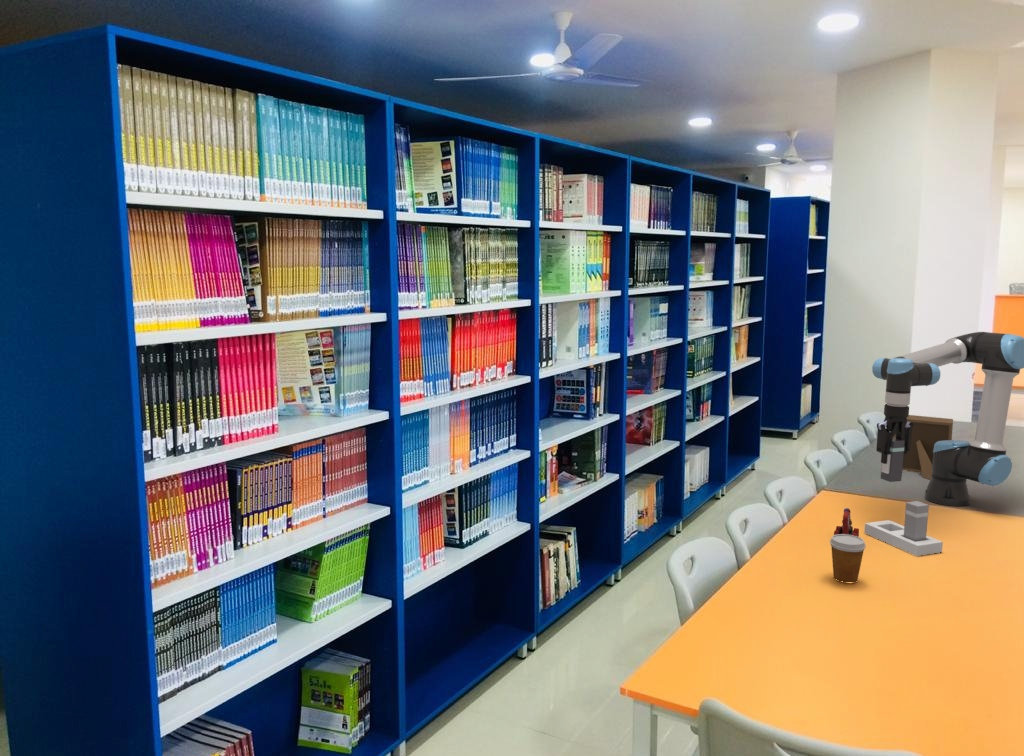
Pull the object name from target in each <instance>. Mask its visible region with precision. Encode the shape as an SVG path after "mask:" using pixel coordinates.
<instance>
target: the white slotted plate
mask: <svg viewBox="0 0 1024 756" xmlns="http://www.w3.org/2000/svg"><path fill="white" fill-rule="evenodd" d="M863 531H864V533H863V534H865V533H866V534H865V535H867V534H868V535H867V536H869V535H870V536H869V537H872V538H874V537H875V538H874V539H877V540H878V539H879V540H878V541H881V542H883V541H884V542H883V543H885V542H886V543H885V544H887V543H888V544H887V545H889V544H890V546H892V547H894V546H895V548H896V547H898V548H900V549H899V550H901V549H902V550H901V551H903V550H904V551H903V552H905V551H906V553H907V552H909V553H908V554H910V553H911V554H910V555H912V554H913V555H912V556H914V555H915V556H914V557H916V556H917V557H922V556H921V555H924V556H928V555H927V554H930V555H935V554H934V553H937V554H941V553H940V552H942V553H943V544H944V543H943V541H942V540H939V539H936V538H934V537H931V536H929V535H926V540H923V541H917V542H914V541H912V540H910V539H907V538H905V537H904V525H901V524H900V523H898V522H895V521H892V520H890V519H887V520H879V521H871V522H865V523H864V530H863ZM898 548H897V549H898Z"/></svg>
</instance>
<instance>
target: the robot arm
mask: <svg viewBox="0 0 1024 756" xmlns="http://www.w3.org/2000/svg"><path fill="white" fill-rule="evenodd" d="M961 363H974V364H978V365H979V364H980V365H981V371H982V372H983V373H984V375H985V377H984V382H983V387H982V393H981V398H980V399H981V400H980V406H979V411H978V412H979V413H978V418H977V423H976V424H977V425H976V430H975V431H976V432H975V437H974V440H973V441H971V442H969V441H967V440H960V439H959V440H958V439H957V440H955V439H952V440H943V441H938V442H936V443H935V445H934V450H933V461H932V476H931V480H930V479H929V482H928V485H927V487H926V489H925V491H924V499H925V500H926V499H927V500H926V501H928V500H929V502H931V503H933V502H934V504H937V503H938V505H943V506H949V505H950V507H951V506H952V507H965V506H969V505H970V504H971V495H970V494H969V489H968V485H967V480H969V481H974V482H976V483H978V484H979V483H980V484H981V485H987V486H994V487H995V486H999V485H1001V484H1003V483H1004V482H1005V481H1006V480H1007V479H1008V477H1009V476H1010V474H1011V472H1012V468H1013V462H1012V460H1011V457H1010V456H1008V455H1007V448H1006V447H1005V446H1004V444H1003V442H1004V435H1005V430H1006V424H1007V419H1008V412H1009V407H1010V401H1011V396H1012V395H1011V393H1012V387H1013V385H1014V384H1013V382H1014V378H1015V377H1017V376H1018V375H1020V373H1021V372H1020V371H1021V369H1024V336H1021V335H1017V334H1013V333H1000V332H998V333H997V332H988V331H977V332H971V333H966V334H962V335H958V336H955V337H951V338H948V339H947V340H945V341H944V343H941V344H938V345H937V344H936V345H933V346H931V347H930V346H929V347H928V348H924V349H920V350H917V351H913V352H909V353H907V354H906V353H905V354H903V355H900V356H896V357H892V358H887V357H880V358H877V359H876V360H874V362H873V364H872V367H871V368H872V371H871V372H872V374H873V376H874V377H875V378H877V379H879V380H883V381H885V382H886V385H885V395H884V402H885V405H884V408H883V414H884V420H883V422H881V423H879V422H878V423H877V424H876V428H877V435H876V452H877V453H880V454H881V456H880V463H881V467H882V470H881V469H880V473H881V472H884V473H886V474H889V469H890V457H891V455H890V454H889V450H890V447H891V441H892V439H893V436H894V435H895V434H896V439H900V440H904V441H905V442H904V454H907V451H910V446H911V435H912V428H913V426H914V423H912V422H908V421H907V417H908V416H909V415H910V406H909V405H910V404H911V391H912V387H922V386H924V387H925V386H926V387H928V386H931V385H935V384H937V383H938V382H939V381H940V379H941V370H940V368H939V367H942V366H946V365H949V364H956V365H958V364H961ZM906 446H907V447H906ZM904 454H903V461H904Z"/></svg>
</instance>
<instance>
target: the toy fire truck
mask: <svg viewBox="0 0 1024 756" xmlns="http://www.w3.org/2000/svg"><path fill="white" fill-rule="evenodd" d="M841 523H842V525H841V526H840V525H837V526H835V530H834V531H833V536H834V535H837V534H847V535H853V536H857V537H859V535H860V529H859V528H856V527H853V526H852V524H853V521H852V519H851V509H850V508H844V510H843V516H842V520H841Z"/></svg>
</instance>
